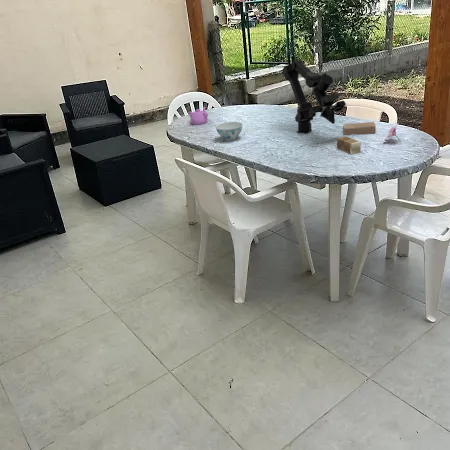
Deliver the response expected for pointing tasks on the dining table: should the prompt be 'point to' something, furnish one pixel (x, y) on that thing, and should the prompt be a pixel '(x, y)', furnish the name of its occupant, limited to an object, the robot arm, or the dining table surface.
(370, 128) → the brick
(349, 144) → the walnut block
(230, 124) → the chinaware
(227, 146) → the dining table surface
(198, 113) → the teapot
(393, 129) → the lily
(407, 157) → the dining table surface
